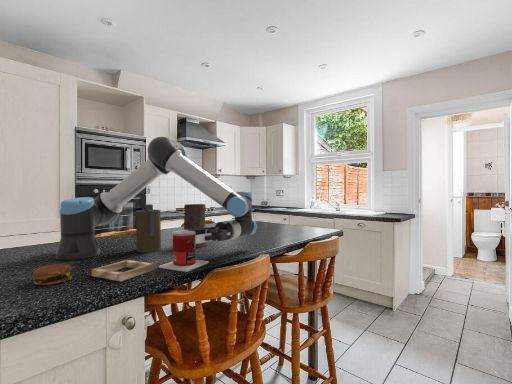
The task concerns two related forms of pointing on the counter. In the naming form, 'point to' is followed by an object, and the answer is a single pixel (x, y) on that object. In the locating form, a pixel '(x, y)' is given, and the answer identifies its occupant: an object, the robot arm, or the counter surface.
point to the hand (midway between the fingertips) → (183, 237)
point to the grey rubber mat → (183, 268)
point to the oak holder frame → (110, 273)
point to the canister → (148, 229)
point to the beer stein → (195, 218)
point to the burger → (51, 274)
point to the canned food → (184, 248)
